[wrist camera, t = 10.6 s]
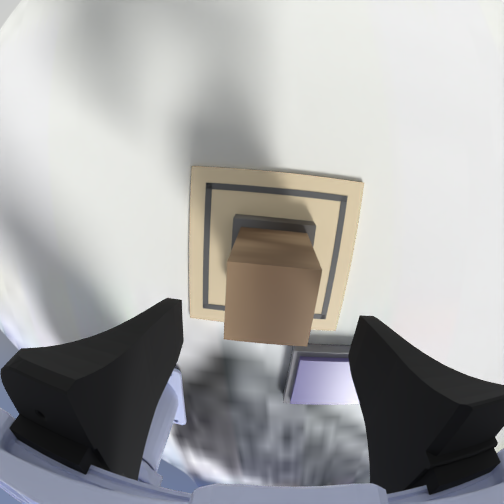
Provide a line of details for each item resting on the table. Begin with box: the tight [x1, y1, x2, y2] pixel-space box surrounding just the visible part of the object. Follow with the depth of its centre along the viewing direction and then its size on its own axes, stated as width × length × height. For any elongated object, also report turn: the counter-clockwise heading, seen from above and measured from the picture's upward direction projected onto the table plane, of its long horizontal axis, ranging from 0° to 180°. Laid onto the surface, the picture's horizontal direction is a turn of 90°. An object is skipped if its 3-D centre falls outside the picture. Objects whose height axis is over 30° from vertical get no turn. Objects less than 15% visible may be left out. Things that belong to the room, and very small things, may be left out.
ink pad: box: [283, 344, 360, 404], centre depth 22 cm, size 8×6×2 cm
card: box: [189, 166, 364, 331], centre depth 20 cm, size 11×11×1 cm
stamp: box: [224, 214, 322, 347], centre depth 16 cm, size 5×5×7 cm
